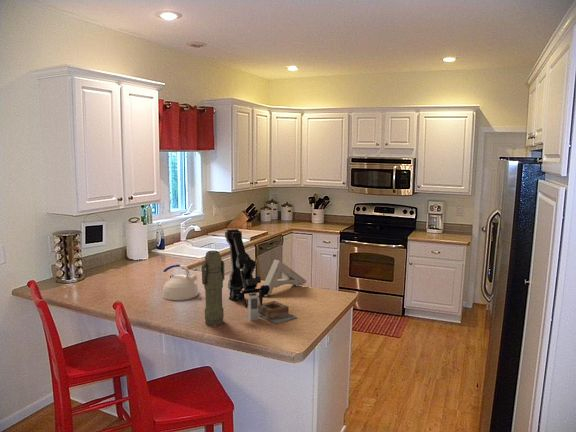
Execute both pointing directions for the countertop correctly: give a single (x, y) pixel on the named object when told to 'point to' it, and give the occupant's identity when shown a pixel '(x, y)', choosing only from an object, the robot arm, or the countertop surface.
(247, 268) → the robot arm
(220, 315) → the olive cylinder
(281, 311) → the slotted post block
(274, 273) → the wall bracket
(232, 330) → the countertop surface
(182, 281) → the kettle
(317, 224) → the countertop surface
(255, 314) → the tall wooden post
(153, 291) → the countertop surface
